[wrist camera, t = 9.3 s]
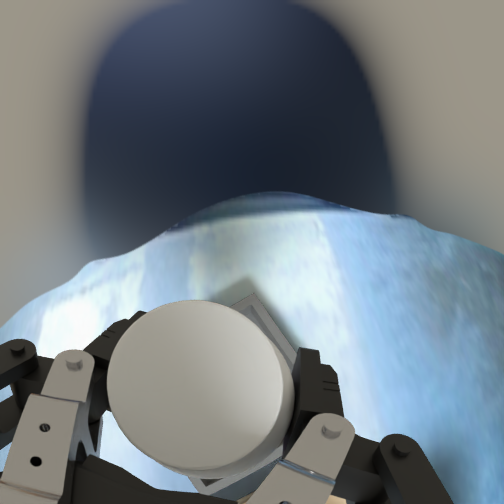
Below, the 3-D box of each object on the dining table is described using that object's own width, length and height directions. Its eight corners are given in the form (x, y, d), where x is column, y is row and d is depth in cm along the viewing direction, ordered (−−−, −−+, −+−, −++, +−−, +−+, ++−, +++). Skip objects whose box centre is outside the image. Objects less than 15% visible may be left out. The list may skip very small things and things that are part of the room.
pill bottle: (243, 339, 16) (246, 238, 8) (293, 426, 14) (361, 428, 6) (152, 380, 15) (55, 321, 7) (197, 471, 13) (138, 529, 4)
